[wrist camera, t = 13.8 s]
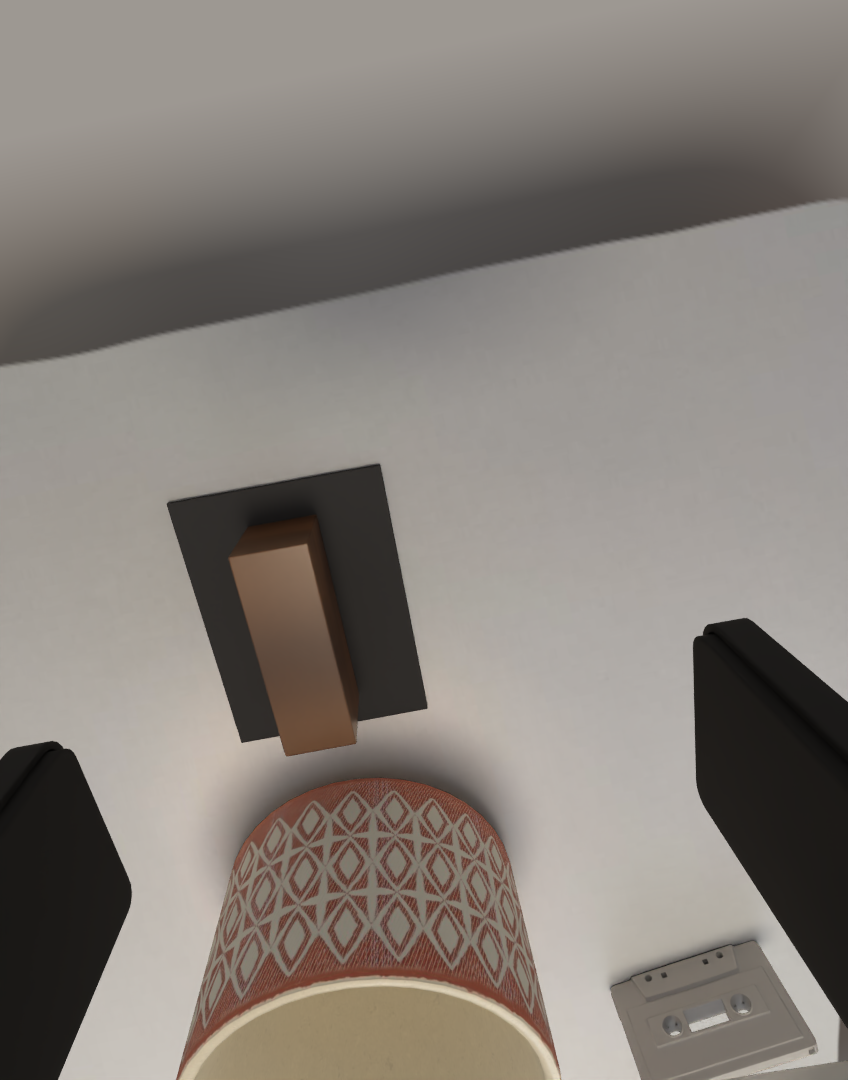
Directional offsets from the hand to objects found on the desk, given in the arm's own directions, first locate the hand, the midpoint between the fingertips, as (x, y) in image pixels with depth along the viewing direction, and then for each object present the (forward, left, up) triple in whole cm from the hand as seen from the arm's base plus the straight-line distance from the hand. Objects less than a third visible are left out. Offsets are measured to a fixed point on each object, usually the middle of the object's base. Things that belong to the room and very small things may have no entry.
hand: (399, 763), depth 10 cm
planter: (+31, +2, -28) cm, 41 cm away
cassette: (+39, +27, -28) cm, 55 cm away
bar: (+11, -4, -27) cm, 29 cm away
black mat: (+11, -4, -28) cm, 30 cm away
